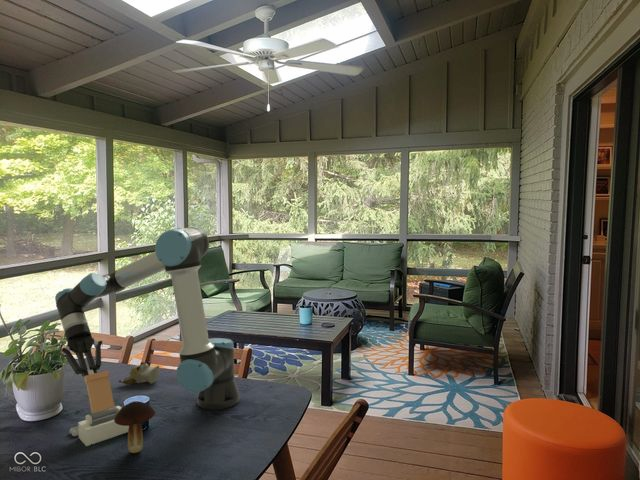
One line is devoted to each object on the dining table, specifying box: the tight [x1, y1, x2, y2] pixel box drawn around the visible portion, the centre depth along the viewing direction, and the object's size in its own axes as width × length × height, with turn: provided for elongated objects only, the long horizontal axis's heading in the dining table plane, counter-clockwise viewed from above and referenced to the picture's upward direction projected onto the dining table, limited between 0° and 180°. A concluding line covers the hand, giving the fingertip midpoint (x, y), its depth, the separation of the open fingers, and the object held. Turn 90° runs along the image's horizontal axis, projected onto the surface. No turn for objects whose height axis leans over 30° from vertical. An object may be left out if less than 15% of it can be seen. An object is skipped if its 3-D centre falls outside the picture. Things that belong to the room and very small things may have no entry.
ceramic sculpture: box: [118, 361, 160, 385], centre depth 186 cm, size 11×9×15 cm
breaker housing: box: [68, 405, 129, 447], centre depth 145 cm, size 12×15×7 cm
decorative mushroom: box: [114, 400, 156, 454], centre depth 133 cm, size 11×11×15 cm
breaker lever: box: [83, 369, 117, 420], centre depth 145 cm, size 3×7×14 cm, turn 134°
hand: (94, 389), depth 147 cm, fingers closed
